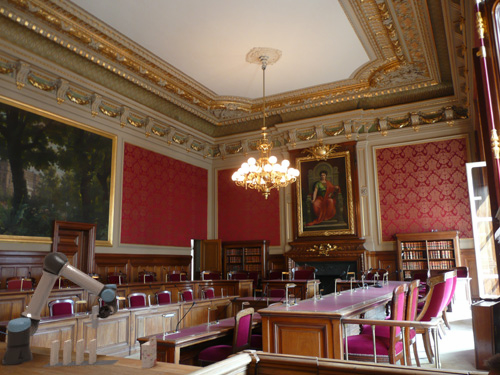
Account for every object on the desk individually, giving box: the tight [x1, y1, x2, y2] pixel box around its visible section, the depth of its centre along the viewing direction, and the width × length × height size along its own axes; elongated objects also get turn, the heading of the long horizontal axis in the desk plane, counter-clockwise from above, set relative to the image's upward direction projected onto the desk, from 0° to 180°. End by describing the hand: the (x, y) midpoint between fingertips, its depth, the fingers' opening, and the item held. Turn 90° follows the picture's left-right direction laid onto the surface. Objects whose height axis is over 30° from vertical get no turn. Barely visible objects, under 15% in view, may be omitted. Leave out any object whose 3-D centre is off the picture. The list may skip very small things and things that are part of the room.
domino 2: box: [62, 339, 73, 365], centre depth 230 cm, size 2×6×12 cm, turn 0°
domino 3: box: [75, 338, 85, 365], centre depth 230 cm, size 2×6×12 cm, turn 0°
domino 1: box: [49, 339, 60, 366], centre depth 230 cm, size 2×6×12 cm, turn 0°
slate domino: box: [91, 305, 100, 330], centre depth 241 cm, size 2×6×12 cm, turn 1°
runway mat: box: [42, 359, 119, 368], centre depth 229 cm, size 38×10×1 cm, turn 90°
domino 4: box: [88, 338, 98, 364], centre depth 230 cm, size 2×6×12 cm, turn 0°
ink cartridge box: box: [140, 335, 157, 369], centre depth 222 cm, size 9×5×15 cm, turn 168°
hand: (91, 317), depth 235 cm, fingers closed on slate domino, 2 cm apart
